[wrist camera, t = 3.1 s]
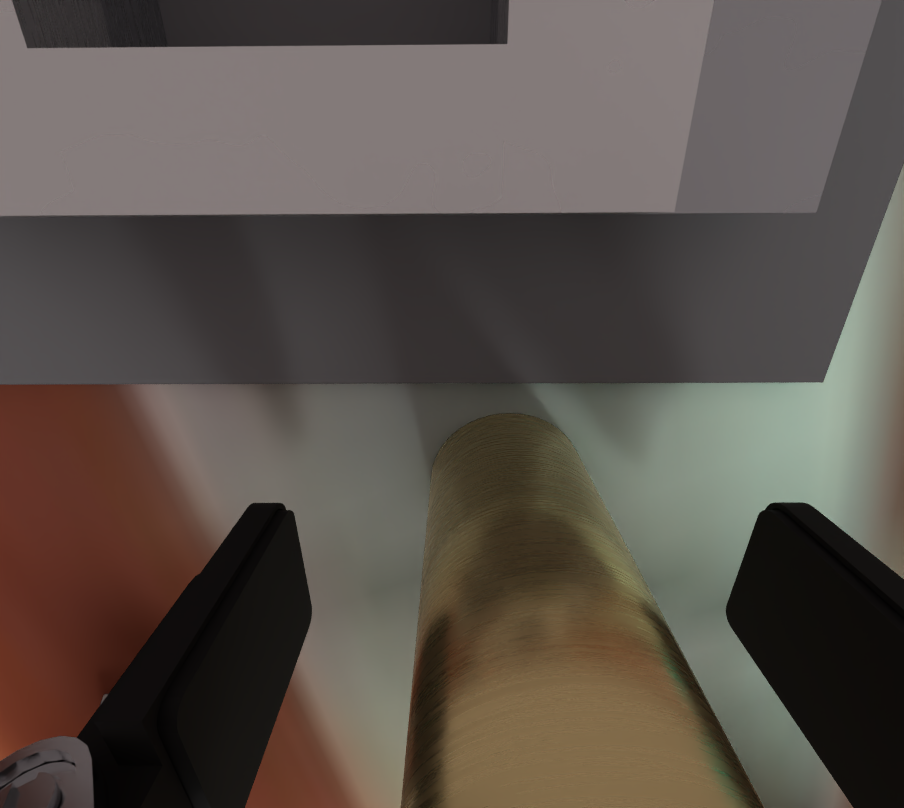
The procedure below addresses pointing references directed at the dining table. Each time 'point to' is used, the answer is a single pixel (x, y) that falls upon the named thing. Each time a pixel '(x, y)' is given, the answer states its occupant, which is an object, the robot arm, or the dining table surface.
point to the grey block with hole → (432, 113)
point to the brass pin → (547, 646)
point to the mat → (448, 262)
